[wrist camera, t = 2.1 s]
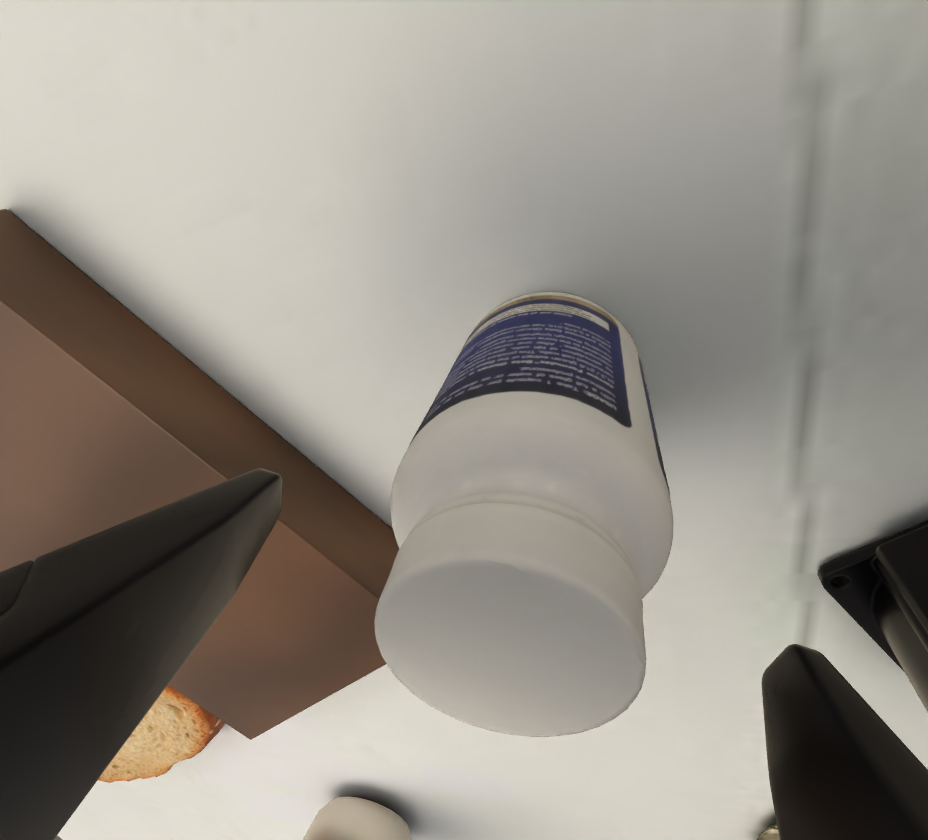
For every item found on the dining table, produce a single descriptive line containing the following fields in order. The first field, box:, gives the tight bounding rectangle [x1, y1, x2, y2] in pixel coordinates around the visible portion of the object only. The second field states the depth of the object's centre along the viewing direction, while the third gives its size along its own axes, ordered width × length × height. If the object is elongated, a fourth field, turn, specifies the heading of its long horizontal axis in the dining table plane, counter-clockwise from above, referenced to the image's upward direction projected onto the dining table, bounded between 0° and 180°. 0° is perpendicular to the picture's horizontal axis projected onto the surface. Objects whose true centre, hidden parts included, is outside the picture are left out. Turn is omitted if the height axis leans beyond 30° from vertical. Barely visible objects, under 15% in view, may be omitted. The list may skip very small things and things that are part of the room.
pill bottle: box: [374, 292, 673, 737], centre depth 12 cm, size 5×5×10 cm
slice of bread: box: [98, 685, 225, 783], centre depth 31 cm, size 18×18×4 cm
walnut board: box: [0, 209, 399, 739], centre depth 21 cm, size 20×14×3 cm
